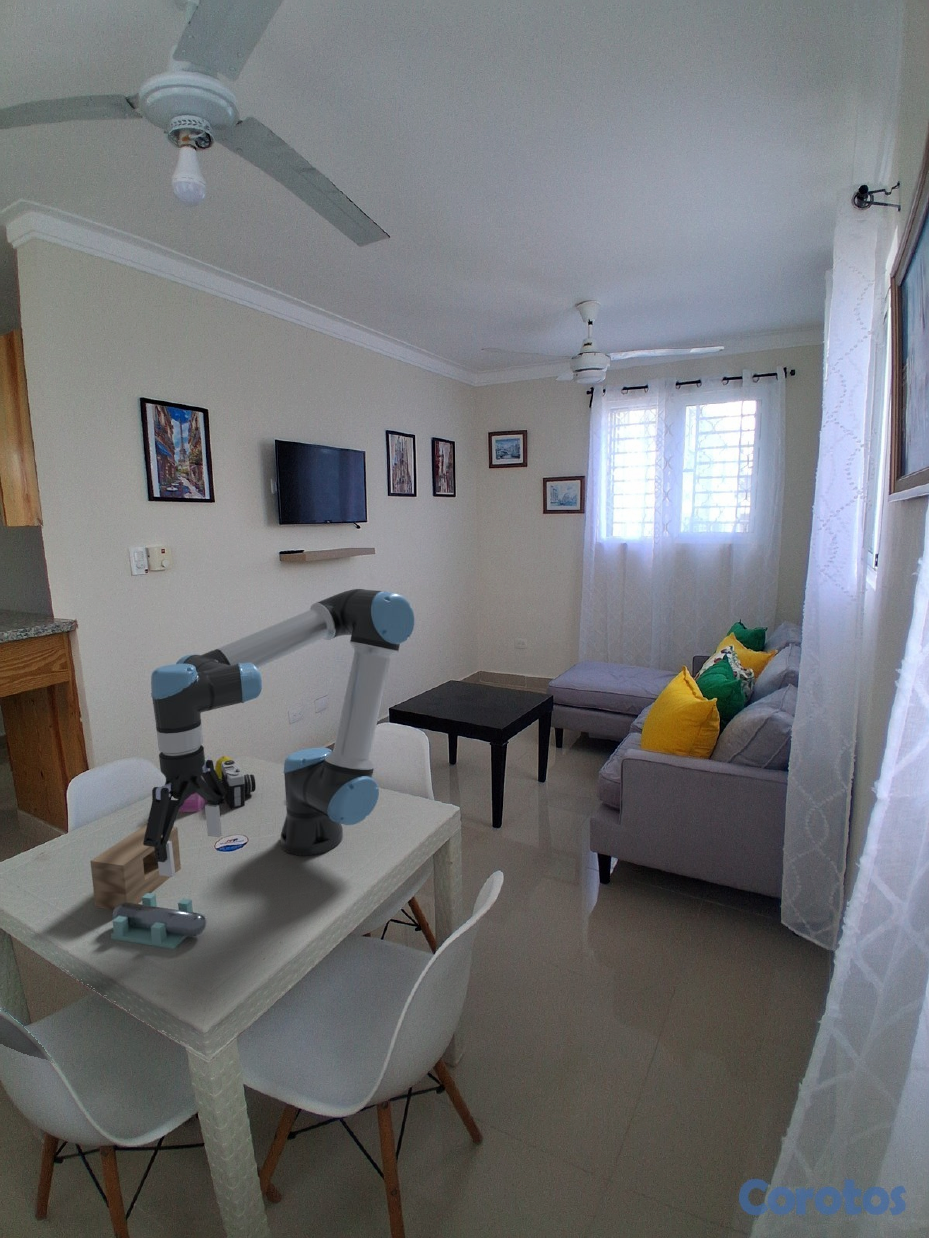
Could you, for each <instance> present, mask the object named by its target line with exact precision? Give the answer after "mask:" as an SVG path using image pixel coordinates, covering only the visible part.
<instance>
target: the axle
mask: <svg viewBox="0 0 929 1238" xmlns="http://www.w3.org/2000/svg"><path fill="white" fill-rule="evenodd" d="M203 915H204V914H201V913H199V912H187V911H181V910H179V909H172V908H168V907H162V906H157V907H155V906H148V905H142V903H141V904H140V903H138V904H135V903H129V902H125V903H121V904H119V905H118V906H117V907H116V908H115V909H114V910H112V914H111V916H112V921H113V920H114V919H115V918H117V917H118V916H122V917H127V918H128V926H131V927H137V928H143V929H149V930H151V926H153V925H154V924H155V923H156V922H159V923H165V924H166V932H167V933H173V934H179V935H185V936H187V937H198V936H200V935H201V934H203V932H204V931H205V929H206V927H207V919H206V916H205V917H204V916H203Z"/></svg>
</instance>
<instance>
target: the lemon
mask: <svg viewBox="0 0 929 1238" xmlns="http://www.w3.org/2000/svg"><path fill="white" fill-rule="evenodd" d="M229 760H232V758H230V757H229V756H225V755H223V756H221V757H220V758H218V760H217V761H216V763H215V766H214V770H215V771H216V773H217V775H218V777H219V779H220V780H222V771H221V770H222V762H225V761H229Z"/></svg>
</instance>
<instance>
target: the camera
mask: <svg viewBox="0 0 929 1238" xmlns="http://www.w3.org/2000/svg"><path fill="white" fill-rule="evenodd" d="M221 771H222V779H221V782H222V784H223V786H224V788H225V790H226V792H227V794H226V796H225V797H224V799H225V802H226V803H227V805H228V807H229V810H233V809H238V808H242V807H245V804H246V803H245V802H246V798H245V796H247V795H248V794H251V793H253V792H255V791H256V779H255V775H254V774H249V773H247V774H244V773H243V770H241V767H240V766H239V764H238V762H237V761H236V759H231V760H229V761H225V762H222V770H221Z"/></svg>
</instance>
